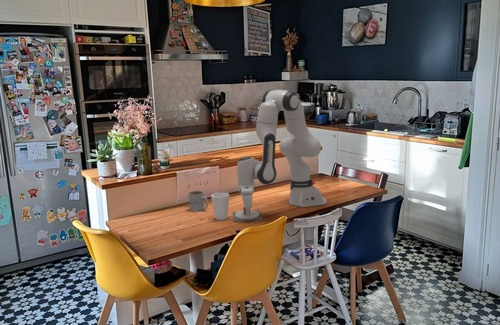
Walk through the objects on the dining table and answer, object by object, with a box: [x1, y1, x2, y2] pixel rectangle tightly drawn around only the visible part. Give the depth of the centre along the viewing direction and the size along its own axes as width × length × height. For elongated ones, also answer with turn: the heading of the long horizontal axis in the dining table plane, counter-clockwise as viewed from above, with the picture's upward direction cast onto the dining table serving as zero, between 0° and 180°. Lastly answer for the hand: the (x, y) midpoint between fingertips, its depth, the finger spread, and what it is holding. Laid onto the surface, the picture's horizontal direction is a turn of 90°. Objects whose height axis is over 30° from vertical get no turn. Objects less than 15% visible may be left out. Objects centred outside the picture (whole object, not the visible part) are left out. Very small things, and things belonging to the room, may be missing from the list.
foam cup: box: [210, 192, 230, 221], centre depth 231 cm, size 10×9×13 cm
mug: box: [188, 190, 209, 213], centre depth 247 cm, size 12×9×10 cm
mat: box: [232, 210, 263, 223], centre depth 233 cm, size 15×15×1 cm
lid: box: [235, 207, 259, 219], centre depth 232 cm, size 13×13×4 cm
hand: (246, 211), depth 232 cm, fingers open, 8 cm apart
